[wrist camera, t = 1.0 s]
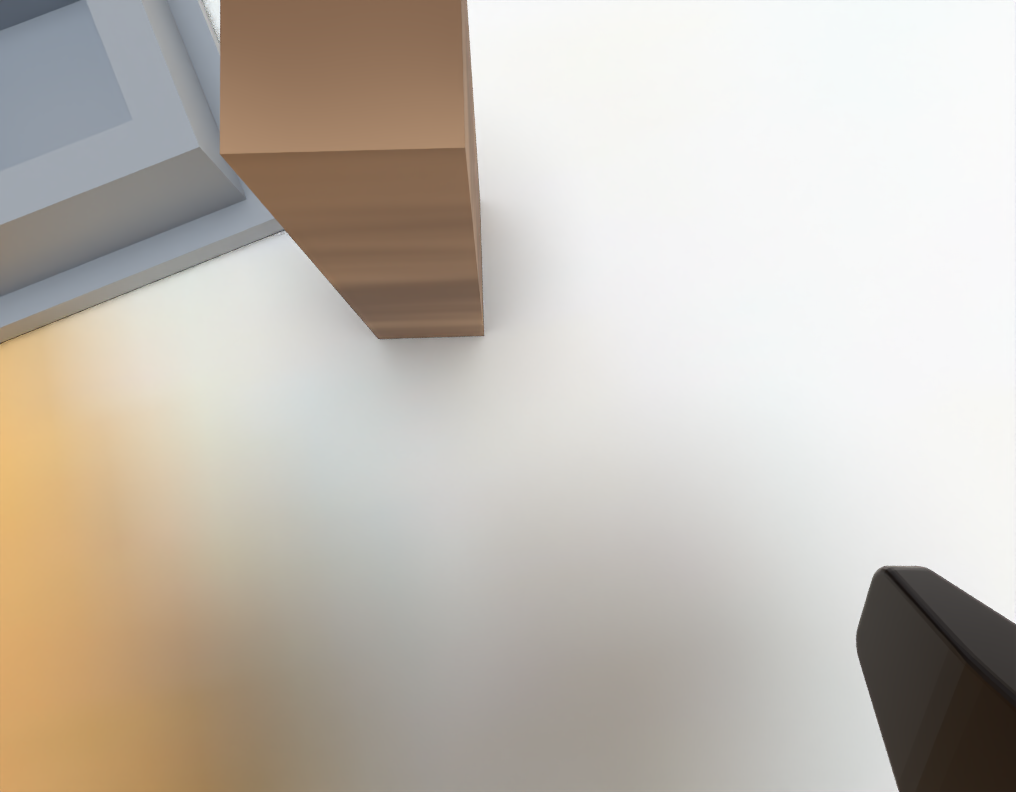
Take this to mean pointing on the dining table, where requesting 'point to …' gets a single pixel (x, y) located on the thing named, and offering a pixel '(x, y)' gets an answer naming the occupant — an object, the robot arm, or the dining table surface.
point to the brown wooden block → (363, 149)
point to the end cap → (110, 154)
